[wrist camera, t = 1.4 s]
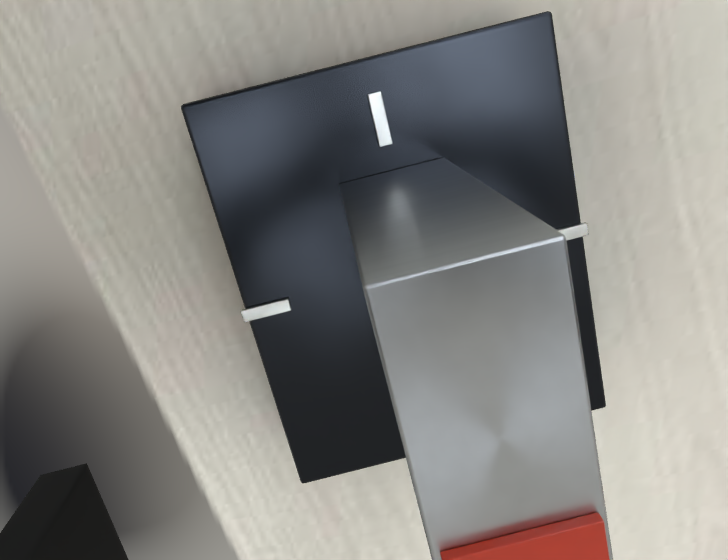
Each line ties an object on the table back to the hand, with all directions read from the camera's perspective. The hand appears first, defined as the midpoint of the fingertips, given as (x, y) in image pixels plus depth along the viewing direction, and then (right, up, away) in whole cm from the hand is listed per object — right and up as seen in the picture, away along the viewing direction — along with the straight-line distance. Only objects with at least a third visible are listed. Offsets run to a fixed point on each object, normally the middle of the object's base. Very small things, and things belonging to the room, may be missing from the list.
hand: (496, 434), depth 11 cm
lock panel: (-1, +4, +11) cm, 12 cm away
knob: (-1, +3, +8) cm, 9 cm away
